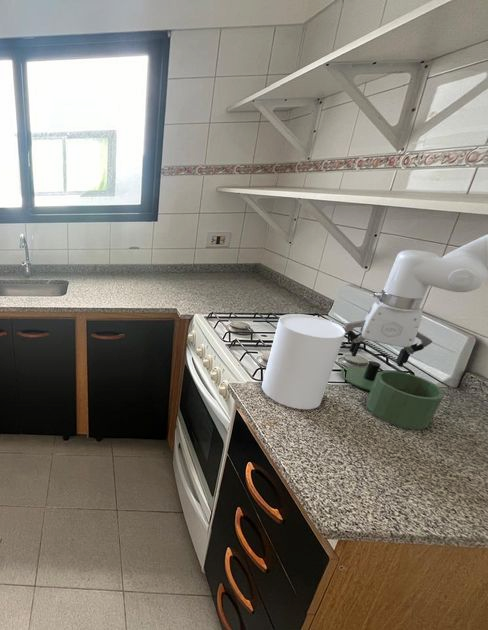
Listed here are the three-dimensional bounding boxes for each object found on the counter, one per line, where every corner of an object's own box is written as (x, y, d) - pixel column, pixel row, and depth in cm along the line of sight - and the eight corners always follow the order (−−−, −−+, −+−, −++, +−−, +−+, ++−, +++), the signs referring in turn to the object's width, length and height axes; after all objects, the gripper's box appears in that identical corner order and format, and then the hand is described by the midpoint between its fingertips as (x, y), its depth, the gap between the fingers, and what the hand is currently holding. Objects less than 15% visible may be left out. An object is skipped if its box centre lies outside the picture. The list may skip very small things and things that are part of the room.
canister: (251, 379, 97) (267, 315, 89) (296, 376, 98) (316, 312, 90) (283, 411, 85) (304, 339, 77) (334, 407, 86) (360, 336, 78)
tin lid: (392, 377, 98) (400, 359, 95) (401, 400, 88) (410, 381, 86) (338, 365, 104) (344, 348, 101) (341, 386, 94) (348, 367, 92)
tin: (421, 408, 85) (435, 379, 82) (434, 436, 77) (451, 405, 73) (363, 393, 91) (374, 365, 88) (369, 418, 82) (381, 388, 79)
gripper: (358, 298, 87) (337, 356, 94) (452, 313, 79) (421, 375, 86) (355, 289, 93) (335, 345, 100) (443, 302, 85) (414, 362, 92)
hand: (375, 359), depth 93 cm, fingers open, 9 cm apart
